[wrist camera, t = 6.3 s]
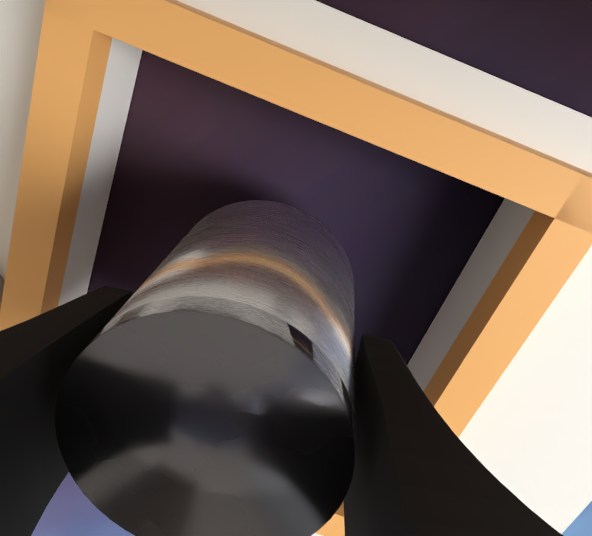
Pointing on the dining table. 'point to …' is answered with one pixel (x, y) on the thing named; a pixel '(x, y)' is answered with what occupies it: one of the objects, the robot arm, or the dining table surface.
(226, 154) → the dining table surface
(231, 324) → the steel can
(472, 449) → the white flat frame
